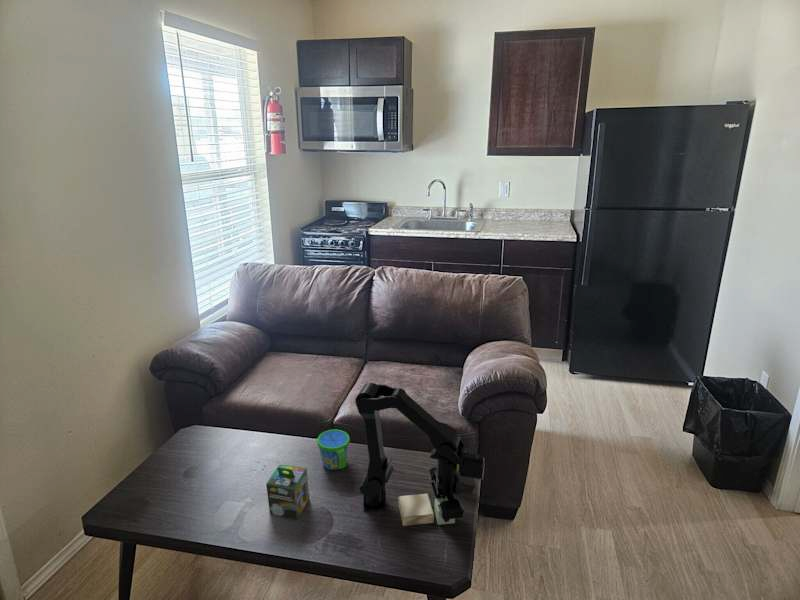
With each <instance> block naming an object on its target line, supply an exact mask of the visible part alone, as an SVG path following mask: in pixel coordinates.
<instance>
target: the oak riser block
mask: <svg viewBox="0 0 800 600" xmlns="http://www.w3.org/2000/svg"><path fill="white" fill-rule="evenodd" d="M397 499H398V500H397V501H398V507H399V513H400V518H401V523H402V526H403V527H405V526H414V525H415V526H416V525H417V526H418V525H426V524H434V523H435V513H434V510H433V508H432V507H433V506H432V504H431V500H430V497H429V494H428V493H419V494H411V495H410V494H409V495H408V494H407V495H400V496H398V498H397Z"/></svg>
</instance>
